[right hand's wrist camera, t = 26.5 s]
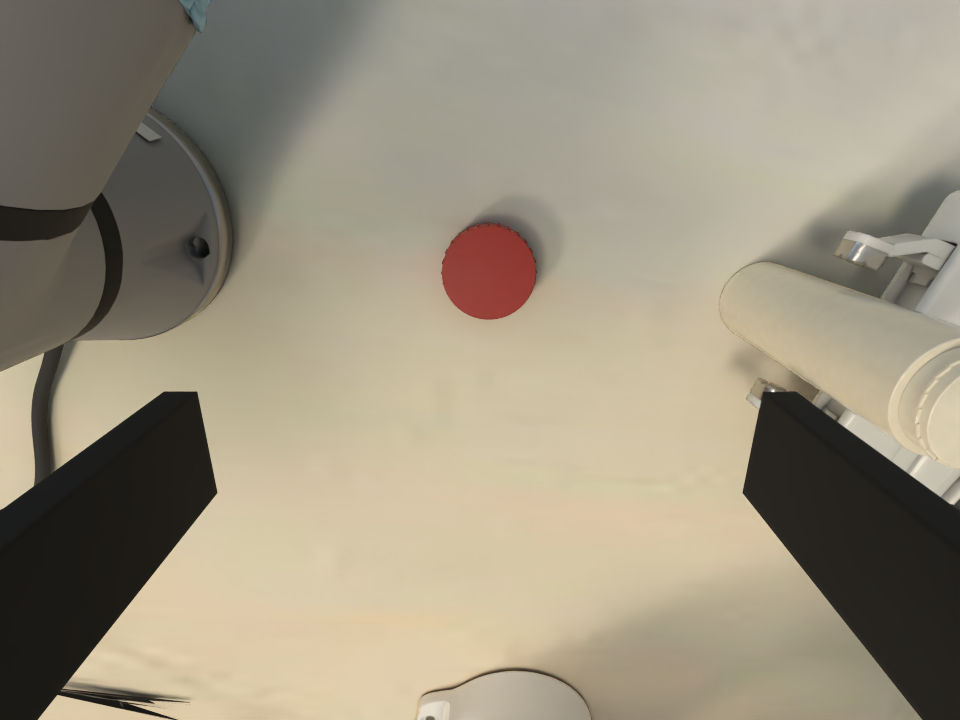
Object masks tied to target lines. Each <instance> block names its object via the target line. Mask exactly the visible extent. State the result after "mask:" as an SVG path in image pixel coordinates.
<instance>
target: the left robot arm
mask: <svg viewBox="0 0 960 720" xmlns="http://www.w3.org/2000/svg"><path fill="white" fill-rule="evenodd" d="M834 256H836V257H838V258H841V259H845V260H846V261H848V262H850V263H853V264H855V265H858V266H862V267H867V268H869V269H873V270H877V271H878V269H879V268H880V266H881V265H882V263H883V262H884V260H885V259H886V257H893V256H894V257H895V258H897V259H900V260H902V261H904V262H903V264H902V265H901V267H900V268H899V270H898V271H897V273H896V275H895V276H894V278H893V279H892V281H891V282H890V284H889V285H888V287H887V288H886V290H885V291H884V293H883V294H882V296H881V298H880V299H883V300H886V301H889V302H892V303H895V304H898V305H901V306H904V307H907V308H910V309H913V310H916V311H919V312H922V313H925V314H928V315H931V316H934V317H937V318H940V319H943V320H946V321H949V322H952V323H955V324H958V325H960V190H958V191H955V192H953V193H951V194H949V195H948V196H947V197H946V199H945V200H944V201H943V203H942V204H941V206H940V207H939V209H938V210H937V212H936V213H935V215H934V216H933V218H932V220H931V221H930V223H929V224H928V226H927V227H926V229H925V230H924V232H923V233H922V235H921V236H920V235H914V234H908V233H905V234H899V235H893V236H887V237H882V238H875V237H873V236H871V235H867V234H864V233H861V232H855V231H849V230H848V231H847V233H846V234H845V236H844V238H843V240H842V241H841V243H840V245H839V246H838V248H837V250H836V251H835V253H834ZM763 392H786V390H785V389H784V388H782V387H781V386H779V385H776V384H774V383H768V382H767V381H765V380H763V379H760V378H758V380H757V381H756V383H755V384H754V386H753V387H752V389H751V391H750V393H749V394H748V396H747V397H746V399H747V400H748V401H749V402H750V403H751V404H752V405H753V406H755V407H756V408H758V409H759V408H760V403H761V398H762V393H763ZM812 404H814V405H815V406H816V407H818V408H819V409H820V410H822V411H823V412H825V413H826V414H827V415H829V416H830V417H831V418H833V419H834V420H835V421H837V422H838V423H840V424H841V425H842V426H844V427H845V428H846V429H848V430H849V431H851V432H852V433H853V434H855V435H856V436H857V437H859V438H860V439H862V440H863V441H864V442H866V443H867V444H868V445H870V446H871V447H873V448H874V449H875V450H877V451H878V452H879V453H881V454H882V455H884V456H885V457H886V458H888V459H889V460H890V461H892V462H893V463H895V464H896V465H897V466H899V467H900V468H901V469H903V470H904V471H906V472H907V473H908V474H910V475H911V476H912V477H914V478H915V479H917V480H918V481H919V482H921V483H922V484H923V485H925V486H926V487H928V488H929V489H930V490H932V491H933V492H934V493H936V494H937V495H938V496H940V497H941V498H943V499H944V500H945V501H947V502H948V503H949V504H953V505H955V506H957V507H959V508H960V469H956V468H949V467H948V466H945V465H943V464H941V463H939V462H936V461H935V460H933V459H932V458H931V457H928V456H923V455H919V454H916V453H913V452H911V451H909V450H907V449H906V448H904V447H903V446H901V445H900V444H898V443H897V442H895V441H894V440H892V439H891V438H889V437H888V436H886V435H885V434H883V433H882V432H880V431H879V430H877V429H876V428H874V427H873V426H871V425H870V424H868V423H867V422H865V421H864V420H863V419H861V418H860V417H858V416H857V415H855V414H854V413H852V412H851V411H849V410H848V409H846V408H845V407H843V406H842V405H840V404H839V403H837V402H836V401H834V400H833V399H831V398H830V397H828V396H827V395H825V394H824V393H822V392H821V391H819V392H818V394H817V395H816V397H815V398H814V400H813V401H812ZM416 720H591V716H590V712H589V709H588V707H587V705H586V703H585V702H584V700H583V699H582V698H581V696H580V695H579V694H578V693H577V692H576V691H575V690H573V689H572V688H571V687H569V686H568V685H566V684H565V683H563V682H561V681H559V680H557V679H555V678H552V677H549V676H546V675H543V674H539V673H534V672H526V671H504V672H497V673H492V674H488V675H484V676H481V677H478V678H476V679H473V680H471V681H469V682H467V683H465V684H463V685H461V686H459V687H457V688H454V689H452V690H444V691H437V692H432V693H429V694H426V695H424V696H423V697H422V698H421V699H420V701H419V706H418V711H417V717H416Z"/></svg>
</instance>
